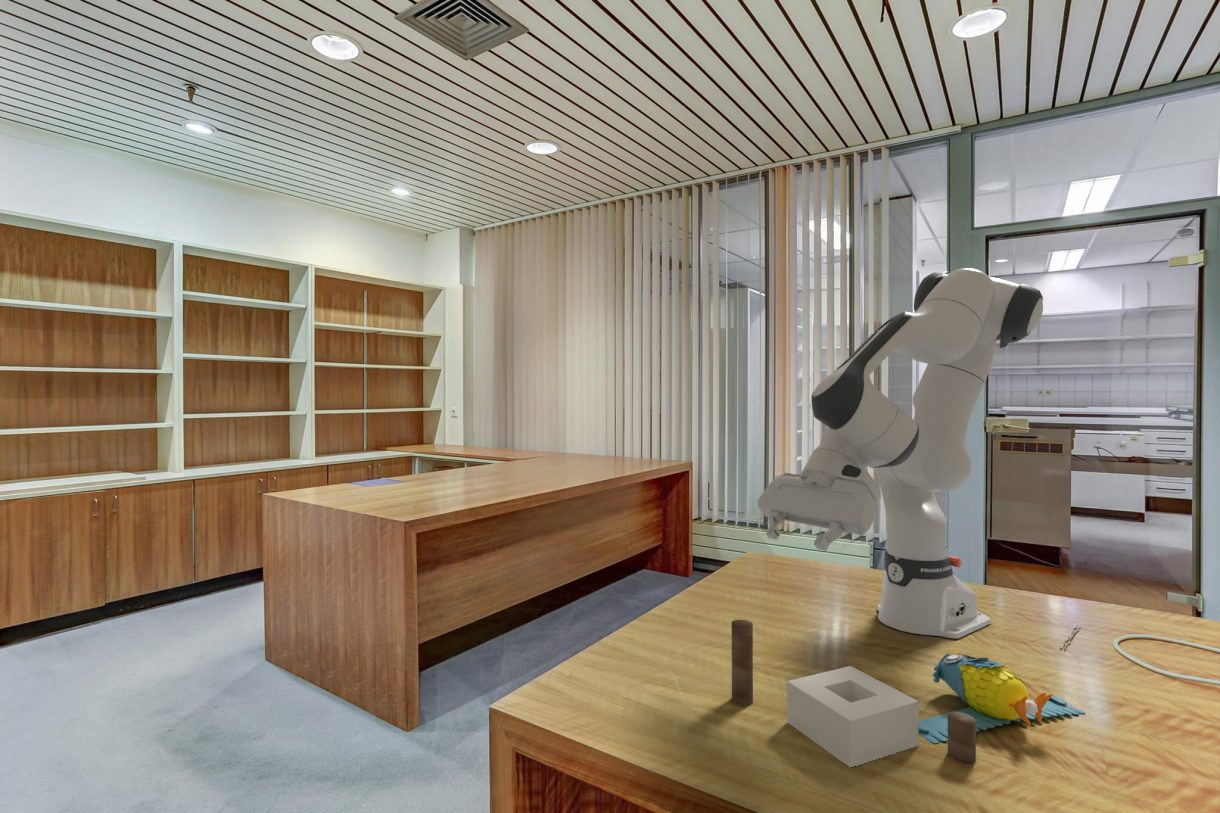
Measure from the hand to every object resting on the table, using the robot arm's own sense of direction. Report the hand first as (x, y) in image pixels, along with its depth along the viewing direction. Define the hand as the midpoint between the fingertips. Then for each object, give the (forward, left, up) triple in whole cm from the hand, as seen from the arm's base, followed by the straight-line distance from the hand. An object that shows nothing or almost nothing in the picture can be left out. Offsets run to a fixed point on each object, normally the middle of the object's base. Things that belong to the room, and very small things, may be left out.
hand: (794, 542), depth 102 cm
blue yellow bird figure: (-18, +21, -24) cm, 36 cm away
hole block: (+4, +16, -23) cm, 28 cm away
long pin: (+12, +2, -23) cm, 26 cm away
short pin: (-5, +26, -23) cm, 35 cm away
